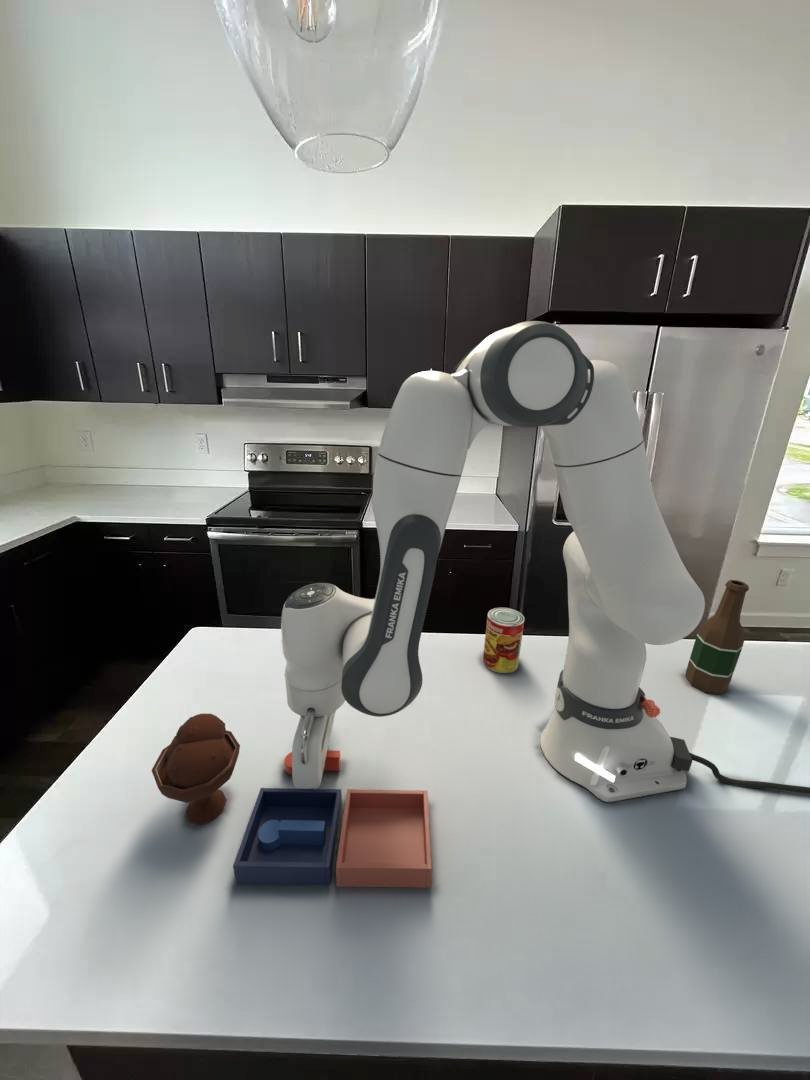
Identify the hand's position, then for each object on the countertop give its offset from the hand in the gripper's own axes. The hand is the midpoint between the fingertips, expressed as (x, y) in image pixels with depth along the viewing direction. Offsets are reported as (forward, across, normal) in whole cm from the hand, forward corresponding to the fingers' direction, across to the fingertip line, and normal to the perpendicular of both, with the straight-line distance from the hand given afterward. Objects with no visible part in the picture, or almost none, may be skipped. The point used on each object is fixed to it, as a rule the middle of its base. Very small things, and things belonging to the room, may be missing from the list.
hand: (321, 757), depth 68 cm
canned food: (+2, +29, -35) cm, 46 cm away
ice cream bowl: (+2, -7, +16) cm, 17 cm away
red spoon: (+2, 0, +2) cm, 2 cm away
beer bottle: (+3, +23, -78) cm, 82 cm away
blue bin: (+2, -12, +2) cm, 12 cm away
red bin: (+2, -12, -11) cm, 16 cm away
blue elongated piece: (+2, -12, +2) cm, 12 cm away
